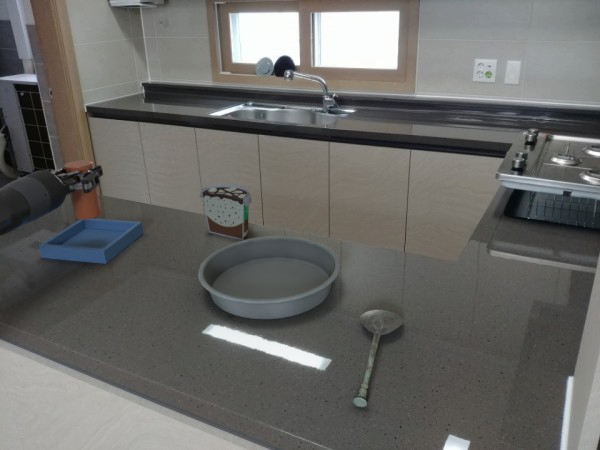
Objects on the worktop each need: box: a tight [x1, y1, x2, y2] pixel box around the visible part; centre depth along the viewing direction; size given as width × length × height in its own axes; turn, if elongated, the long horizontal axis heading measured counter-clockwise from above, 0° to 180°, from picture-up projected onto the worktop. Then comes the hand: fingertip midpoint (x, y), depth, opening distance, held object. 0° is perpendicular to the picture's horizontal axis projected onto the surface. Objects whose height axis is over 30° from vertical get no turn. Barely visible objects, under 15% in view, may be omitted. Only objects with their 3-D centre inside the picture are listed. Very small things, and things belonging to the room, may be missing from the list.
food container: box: [199, 183, 253, 241], centre depth 116 cm, size 12×6×10 cm, turn 59°
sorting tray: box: [38, 218, 144, 265], centre depth 113 cm, size 15×15×3 cm
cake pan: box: [197, 235, 341, 320], centre depth 94 cm, size 25×25×4 cm
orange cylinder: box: [63, 159, 103, 220], centre depth 109 cm, size 5×5×11 cm
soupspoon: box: [352, 309, 404, 408], centre depth 76 cm, size 22×3×7 cm
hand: (87, 169), depth 110 cm, fingers closed on orange cylinder, 5 cm apart
